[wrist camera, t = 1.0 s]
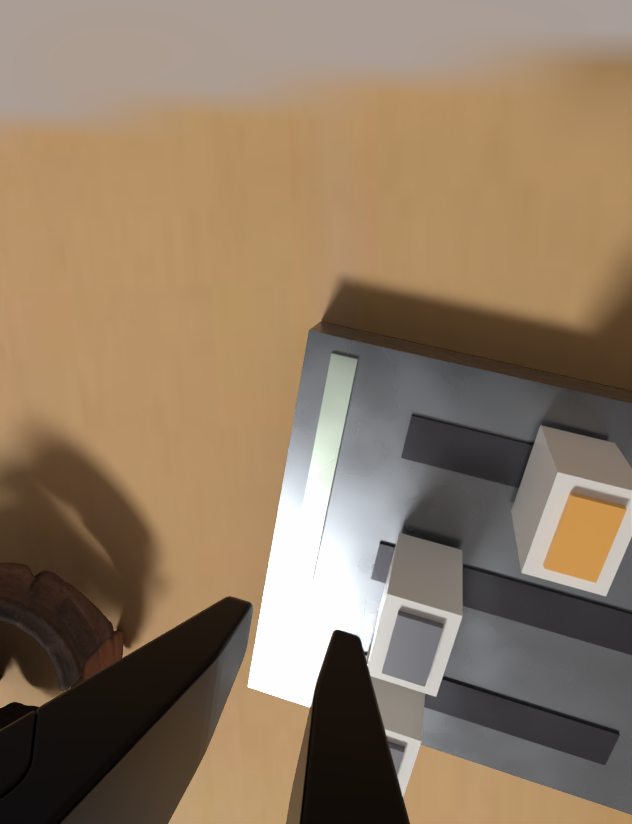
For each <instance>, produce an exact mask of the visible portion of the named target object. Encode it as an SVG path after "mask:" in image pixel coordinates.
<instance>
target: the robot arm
mask: <svg viewBox="0 0 632 824" xmlns="http://www.w3.org/2000/svg"><path fill="white" fill-rule="evenodd" d="M252 613H253V606H252V604H251V603H250V602H248V601H245V600H241V599H238V598H235V597H230V596H229V597H226V598H224V599H222V600H220V601H219V602H217V603H215V604H213V605H212V606H210V607H208V608H207V609H205V610H203V611H202V612H200V613H198V614H196V615H195V616H193V617H191V618H190V619H188V620H186V621H185V622H183V623H181V624H180V625H178V626H176V627H174V628H173V629H171V630H169V631H168V632H166V633H164V634H163V635H161V636H159V637H157V638H156V639H154V640H152V641H151V642H149V643H147V644H146V645H144V646H142V647H140V648H139V649H137V650H135V651H134V652H132V653H130V654H129V655H127V656H125V657H124V658H122V659H120V660H118V661H117V662H115V663H113V664H112V665H110V666H108V667H107V668H105V669H103V670H101V671H100V672H98V673H96V674H95V675H93V676H91V677H90V678H88V679H86V680H85V681H83V682H81V683H79V684H78V685H76V686H74V687H73V688H71V689H69V690H68V691H66V692H64V693H62V694H61V695H59V696H57V697H56V698H54V699H52V700H51V701H49V702H47V703H45V704H44V705H42V706H40V707H39V708H38V709H37V713H35V712H34V711H32V712H30V713H28V714H26V715H25V716H23V717H21V718H20V719H18V720H16V721H15V722H13V723H11V724H9V725H8V726H6V727H4V728H2V729H1V730H0V824H168V823H169V821H170V819H171V817H172V815H173V813H174V811H175V809H176V808H177V806H178V804H179V802H180V800H181V798H182V796H183V794H184V793H185V791H186V789H187V787H188V785H189V783H190V781H191V780H192V778H193V776H194V774H195V772H196V770H197V768H198V766H199V764H200V762H201V760H202V758H203V756H204V754H205V752H206V750H207V747H208V745H209V743H210V741H211V738H212V736H213V733H214V731H215V728H216V726H217V723H218V721H219V718H220V716H221V713H222V711H223V708H224V706H225V703H226V701H227V698H228V696H229V693H230V691H231V688H232V686H233V683H234V681H235V678H236V676H237V673H238V671H239V668H240V666H241V663H242V661H243V658H244V655H245V652H246V648H247V643H248V637H249V631H250V625H251V619H252ZM286 824H410V822H409V819H408V815H407V811H406V807H405V804H404V800H403V796H402V792H401V789H400V785H399V781H398V777H397V774H396V770H395V766H394V762H393V759H392V755H391V751H390V747H389V743H388V740H387V736H386V732H385V728H384V725H383V721H382V717H381V713H380V710H379V706H378V702H377V698H376V695H375V691H374V687H373V683H372V680H371V676H370V672H369V668H368V665H367V661H366V657H365V653H364V650H363V646H362V642H361V639H360V637H359V636H357V635H355V634H352V633H348V632H345V631H342V630H339V629H336V630H334V631H333V633H332V635H331V638H330V641H329V644H328V647H327V650H326V653H325V656H324V659H323V662H322V665H321V668H320V671H319V674H318V677H317V681H316V684H315V688H314V693H313V697H312V702H311V706H310V710H309V715H308V719H307V724H306V728H305V733H304V737H303V742H302V746H301V751H300V755H299V760H298V764H297V768H296V773H295V777H294V782H293V787H292V792H291V797H290V803H289V809H288V815H287V821H286Z"/></svg>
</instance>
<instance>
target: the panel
mask: <svg viewBox="0 0 632 824" xmlns="http://www.w3.org/2000/svg"><path fill="white" fill-rule="evenodd" d="M540 425H542V426H546V427H550V428H554V429H558V430H563V431H567V432H571V433H575V434H579V435H584V436H588V437H592V438H596V439H600V440H605V441H609V442H613V443H615V444H616V445H617V447H618V448H619V450H620V451H621V453H622V454H623V456H624V457H625V459H626V460H627V462H628V463H629V465H630V466H631V468H632V391H628V390H623V389H619V388H615V387H610V386H606V385H601V384H597V383H592V382H588V381H583V380H579V379H574V378H570V377H565V376H561V375H556V374H552V373H547V372H543V371H539V370H534V369H530V368H525V367H521V366H516V365H512V364H507V363H503V362H498V361H494V360H489V359H485V358H480V357H476V356H471V355H467V354H463V353H458V352H454V351H449V350H445V349H440V348H436V347H431V346H427V345H422V344H418V343H413V342H409V341H404V340H400V339H395V338H391V337H387V336H382V335H378V334H373V333H369V332H364V331H360V330H355V329H351V328H346V327H342V326H337V325H333V324H328V323H324V322H319V323H318V324H317V325H315V326H314V327H313V328H312V329H310V330H309V334H308V339H307V345H306V351H305V357H304V363H303V369H302V374H301V380H300V386H299V392H298V398H297V403H296V409H295V415H294V421H293V427H292V433H291V438H290V444H289V450H288V456H287V462H286V467H285V473H284V479H283V485H282V491H281V496H280V502H279V508H278V514H277V520H276V526H275V531H274V537H273V543H272V549H271V555H270V560H269V566H268V572H267V578H266V584H265V589H264V595H263V601H262V607H261V613H260V619H259V624H258V630H257V636H256V642H255V648H254V653H253V659H252V665H251V671H250V677H249V683H248V687H250V688H253V689H256V690H259V691H262V692H265V693H268V694H271V695H274V696H277V697H280V698H283V699H286V700H289V701H292V702H295V703H298V704H301V705H304V706H307V707H310V706H311V702H312V697H313V693H314V688H315V684H316V681H317V677H318V674H319V671H320V668H321V665H322V662H323V659H324V656H325V653H326V650H327V647H328V644H329V641H330V638H331V635H332V633H333V631H334V630H336V629H339V630H342V631H345V632H348V633H352V634H355V635H357V636H359V637H360V639H361V642H362V646H363V650H364V653H365V657H366V656H367V653H368V649H369V645H370V644H371V645H372V641H373V636H374V631H375V627H376V622H377V617H378V612H379V607H380V603H381V599H382V595H383V591H384V588H385V584H386V580H387V576H388V572H389V568H390V565H391V561H392V557H393V553H394V549H395V545H396V542H397V538H398V534H399V533H402V534H406V535H409V536H413V537H417V538H420V539H424V540H428V541H431V542H435V543H438V544H442V545H446V546H449V547H453V548H456V549H460V550H462V574H463V616H462V619H461V623H460V626H459V629H458V632H457V635H456V638H455V641H454V644H453V647H452V650H451V653H450V656H449V659H448V662H447V665H446V668H445V671H444V674H443V678H442V681H441V684H440V687H439V690H438V693H437V696H436V697H435V696H432V695H428V694H425V703H424V716H423V730H422V742H421V745H424V746H427V747H430V748H433V749H436V750H439V751H442V752H445V753H448V754H451V755H454V756H457V757H460V758H463V759H466V760H469V761H472V762H475V763H478V764H481V765H484V766H487V767H490V768H493V769H496V770H499V771H502V772H505V773H508V774H511V775H514V776H517V777H520V778H523V779H526V780H529V781H532V782H535V783H538V784H541V785H544V786H547V787H550V788H553V789H556V790H559V791H562V792H565V793H568V794H571V795H574V796H577V797H580V798H583V799H586V800H589V801H592V802H595V803H598V804H601V805H604V806H607V807H610V808H613V809H616V810H619V811H622V812H625V813H628V814H631V815H632V537H631V540H630V542H629V544H628V546H627V549H626V551H625V553H624V556H623V558H622V560H621V563H620V565H619V567H618V570H617V572H616V574H615V577H614V579H613V581H612V584H611V586H610V588H609V591H608V593H607V595H606V596H602V595H599V594H595V593H592V592H588V591H584V590H581V589H577V588H574V587H570V586H567V585H563V584H559V583H556V582H552V581H549V580H545V579H541V578H538V577H534V576H531V575H527V574H523V573H521V568H520V562H519V556H518V550H517V544H516V538H515V532H514V526H513V520H512V514H511V510H512V507H513V505H514V502H515V499H516V496H517V493H518V490H519V487H520V484H521V481H522V478H523V475H524V472H525V469H526V466H527V463H528V460H529V457H530V454H531V451H532V448H533V445H534V442H535V439H536V436H537V433H538V430H539V427H540Z"/></svg>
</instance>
